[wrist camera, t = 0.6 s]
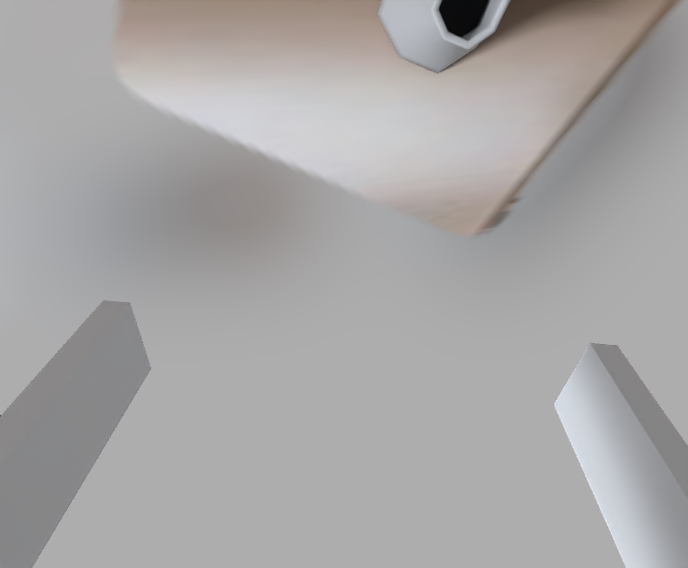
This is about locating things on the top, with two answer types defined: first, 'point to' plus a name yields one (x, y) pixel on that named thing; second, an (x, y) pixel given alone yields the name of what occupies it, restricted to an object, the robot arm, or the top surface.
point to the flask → (439, 28)
